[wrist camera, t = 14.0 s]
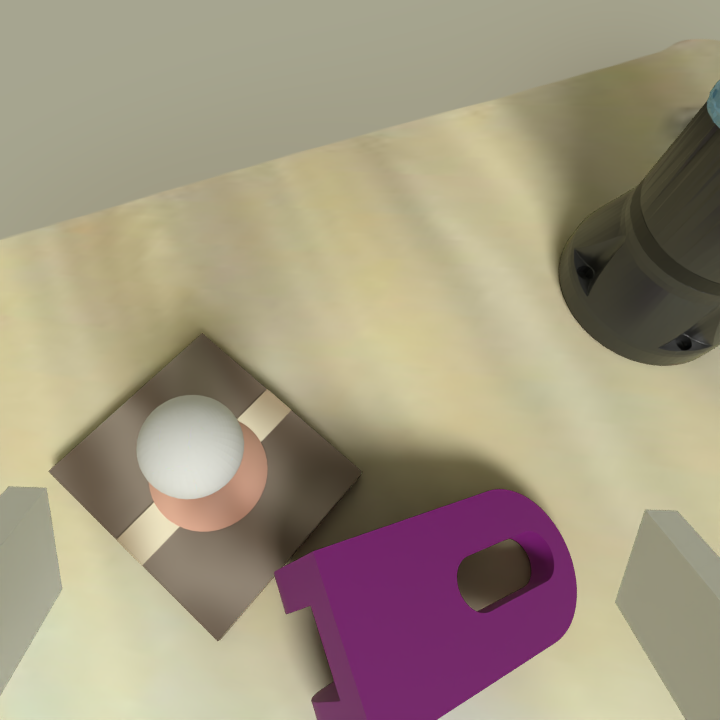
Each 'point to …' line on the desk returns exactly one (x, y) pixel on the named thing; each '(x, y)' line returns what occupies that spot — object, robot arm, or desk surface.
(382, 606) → the mounting bracket
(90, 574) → the desk surface
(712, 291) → the robot arm
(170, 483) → the light bulb
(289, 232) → the desk surface
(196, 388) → the board
